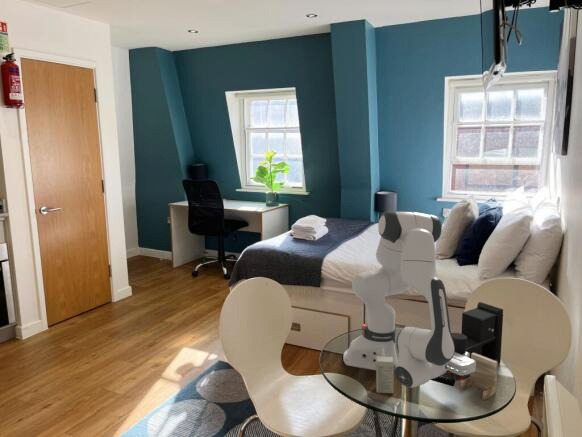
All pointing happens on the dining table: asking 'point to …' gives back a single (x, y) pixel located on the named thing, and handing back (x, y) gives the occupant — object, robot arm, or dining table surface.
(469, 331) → the bookend
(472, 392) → the dining table surface
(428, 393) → the dining table surface
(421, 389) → the dining table surface
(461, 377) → the deodorant
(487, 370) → the rack
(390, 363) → the skincare box
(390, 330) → the robot arm
